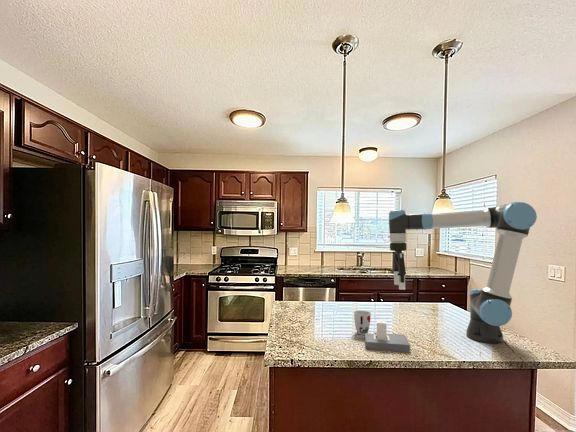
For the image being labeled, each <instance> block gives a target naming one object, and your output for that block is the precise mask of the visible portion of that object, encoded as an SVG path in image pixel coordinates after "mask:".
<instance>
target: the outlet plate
mask: <svg viewBox="0 0 576 432" xmlns="http://www.w3.org/2000/svg"><path fill="white" fill-rule="evenodd" d="M364 342H365V343H364V344H365V349H366V350H375V351H387V352H388V351H389V352H400V353H401V352H402V353H411V345H410V343H409V340H408V338H407V336H406V335H405V336H399V335H386V339H377V334H375V333H369V332H368V333H365V335H364Z"/></svg>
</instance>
